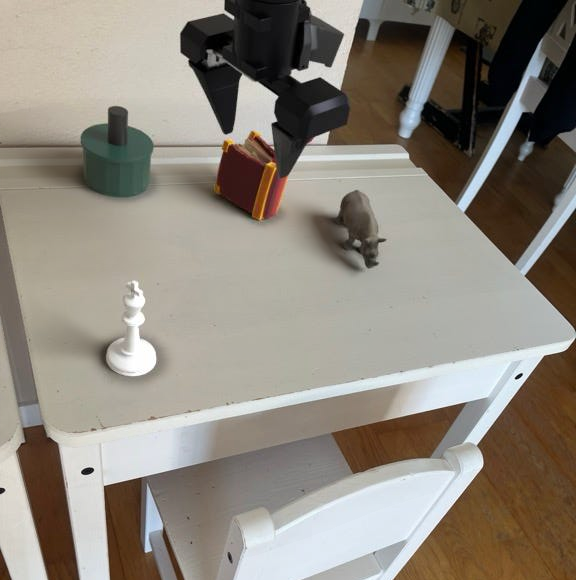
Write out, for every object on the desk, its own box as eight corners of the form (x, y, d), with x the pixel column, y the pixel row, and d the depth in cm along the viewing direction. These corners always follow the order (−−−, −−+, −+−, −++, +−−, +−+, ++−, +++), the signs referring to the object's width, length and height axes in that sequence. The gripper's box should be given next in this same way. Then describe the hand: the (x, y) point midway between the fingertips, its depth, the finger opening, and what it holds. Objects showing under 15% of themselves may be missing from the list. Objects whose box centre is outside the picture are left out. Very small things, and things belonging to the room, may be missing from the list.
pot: (71, 171, 82) (69, 136, 78) (123, 157, 87) (124, 122, 83) (110, 204, 79) (110, 168, 75) (162, 187, 84) (164, 153, 80)
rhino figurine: (354, 281, 79) (368, 243, 75) (329, 217, 88) (341, 180, 84) (383, 282, 80) (399, 245, 76) (356, 220, 89) (369, 182, 85)
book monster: (206, 189, 86) (270, 177, 93) (247, 227, 82) (310, 210, 89) (221, 115, 78) (290, 108, 85) (266, 153, 75) (333, 142, 82)
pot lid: (66, 139, 79) (64, 100, 75) (124, 125, 84) (125, 88, 80) (109, 175, 76) (110, 135, 72) (167, 157, 81) (170, 120, 77)
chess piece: (130, 384, 61) (133, 308, 53) (95, 356, 62) (94, 279, 55) (166, 360, 64) (174, 285, 56) (132, 334, 65) (135, 257, 58)
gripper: (410, 16, 53) (370, 175, 65) (270, -62, 60) (257, 94, 73) (316, 43, 48) (291, 211, 60) (175, -46, 55) (178, 120, 67)
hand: (254, 154), depth 65 cm, fingers open, 9 cm apart
